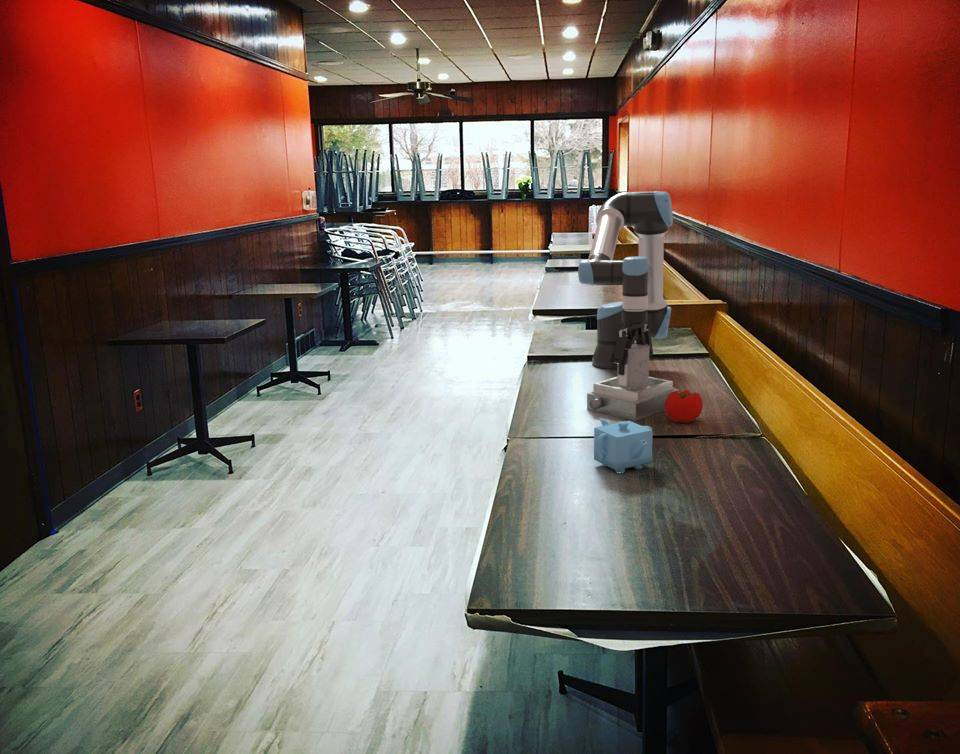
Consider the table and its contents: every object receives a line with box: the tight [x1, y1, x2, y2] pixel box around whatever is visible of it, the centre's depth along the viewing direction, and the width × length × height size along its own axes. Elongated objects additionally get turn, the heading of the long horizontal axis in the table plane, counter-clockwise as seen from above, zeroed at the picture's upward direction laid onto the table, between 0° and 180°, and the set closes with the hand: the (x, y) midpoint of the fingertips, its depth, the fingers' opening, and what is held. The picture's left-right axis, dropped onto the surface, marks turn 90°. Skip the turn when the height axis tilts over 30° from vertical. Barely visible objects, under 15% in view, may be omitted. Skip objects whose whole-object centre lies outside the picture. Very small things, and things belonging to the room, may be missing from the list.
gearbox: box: [586, 375, 679, 421], centre depth 243 cm, size 25×18×8 cm
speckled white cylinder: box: [617, 342, 650, 389], centre depth 242 cm, size 10×10×12 cm
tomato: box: [664, 389, 704, 424], centre depth 229 cm, size 11×11×9 cm
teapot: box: [593, 417, 653, 474], centre depth 195 cm, size 16×18×11 cm
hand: (633, 381), depth 243 cm, fingers closed on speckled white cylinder, 9 cm apart
